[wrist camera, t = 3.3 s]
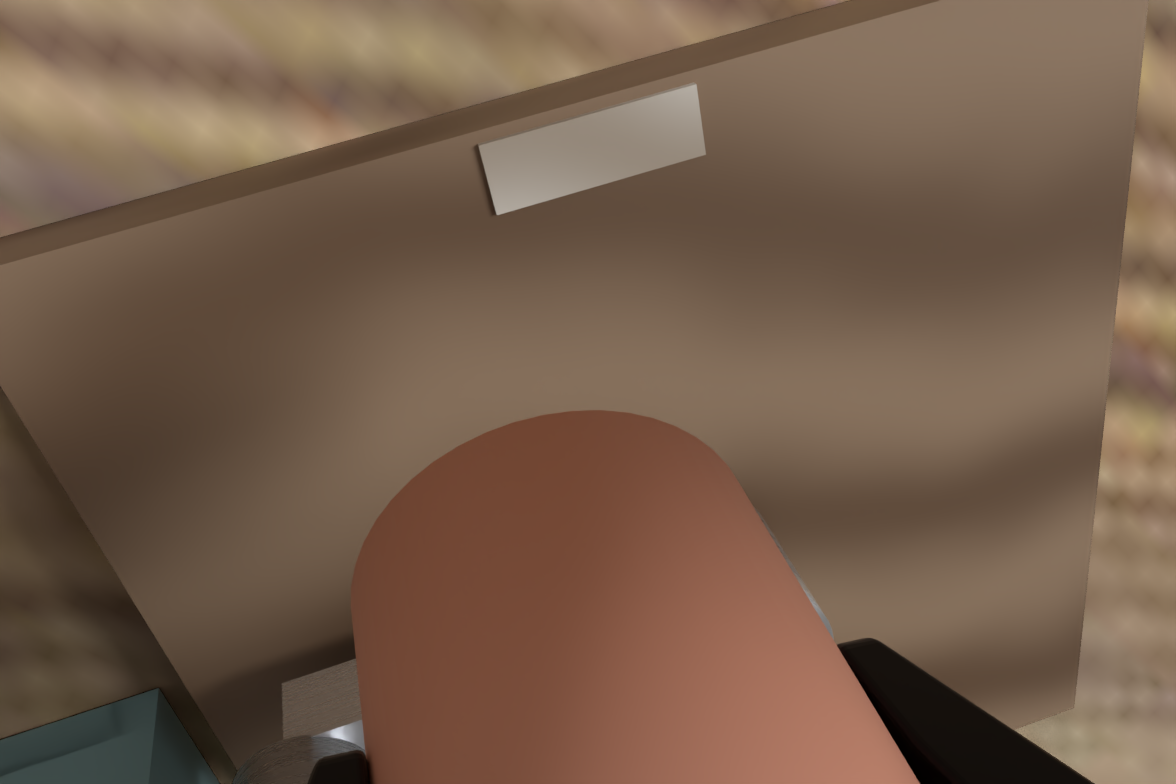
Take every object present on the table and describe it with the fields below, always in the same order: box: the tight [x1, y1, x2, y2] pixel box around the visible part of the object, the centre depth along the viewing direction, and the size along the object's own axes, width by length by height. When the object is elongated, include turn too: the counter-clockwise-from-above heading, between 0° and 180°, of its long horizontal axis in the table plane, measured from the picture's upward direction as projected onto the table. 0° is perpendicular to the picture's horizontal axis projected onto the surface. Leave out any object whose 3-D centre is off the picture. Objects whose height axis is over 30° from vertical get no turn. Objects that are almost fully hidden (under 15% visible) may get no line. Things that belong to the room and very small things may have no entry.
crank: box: [232, 506, 834, 784], centre depth 19 cm, size 11×4×7 cm, turn 101°
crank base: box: [0, 0, 1149, 771], centre depth 23 cm, size 20×20×1 cm
